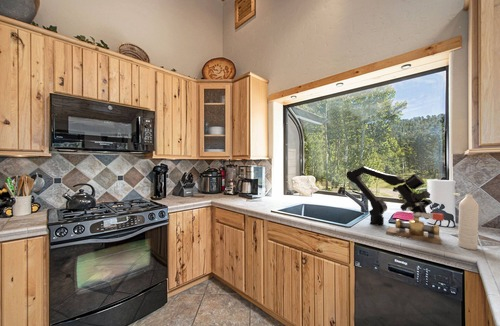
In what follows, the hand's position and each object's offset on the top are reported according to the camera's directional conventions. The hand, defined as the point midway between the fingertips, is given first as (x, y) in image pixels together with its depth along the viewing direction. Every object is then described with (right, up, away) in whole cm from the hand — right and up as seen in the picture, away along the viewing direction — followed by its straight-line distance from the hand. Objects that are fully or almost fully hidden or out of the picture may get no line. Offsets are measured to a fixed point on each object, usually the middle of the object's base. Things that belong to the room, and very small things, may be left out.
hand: (427, 219), depth 111 cm
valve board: (-6, -10, +3) cm, 12 cm away
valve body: (-5, -8, +1) cm, 10 cm away
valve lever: (-1, +1, -1) cm, 2 cm away
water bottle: (+8, -10, -11) cm, 17 cm away
